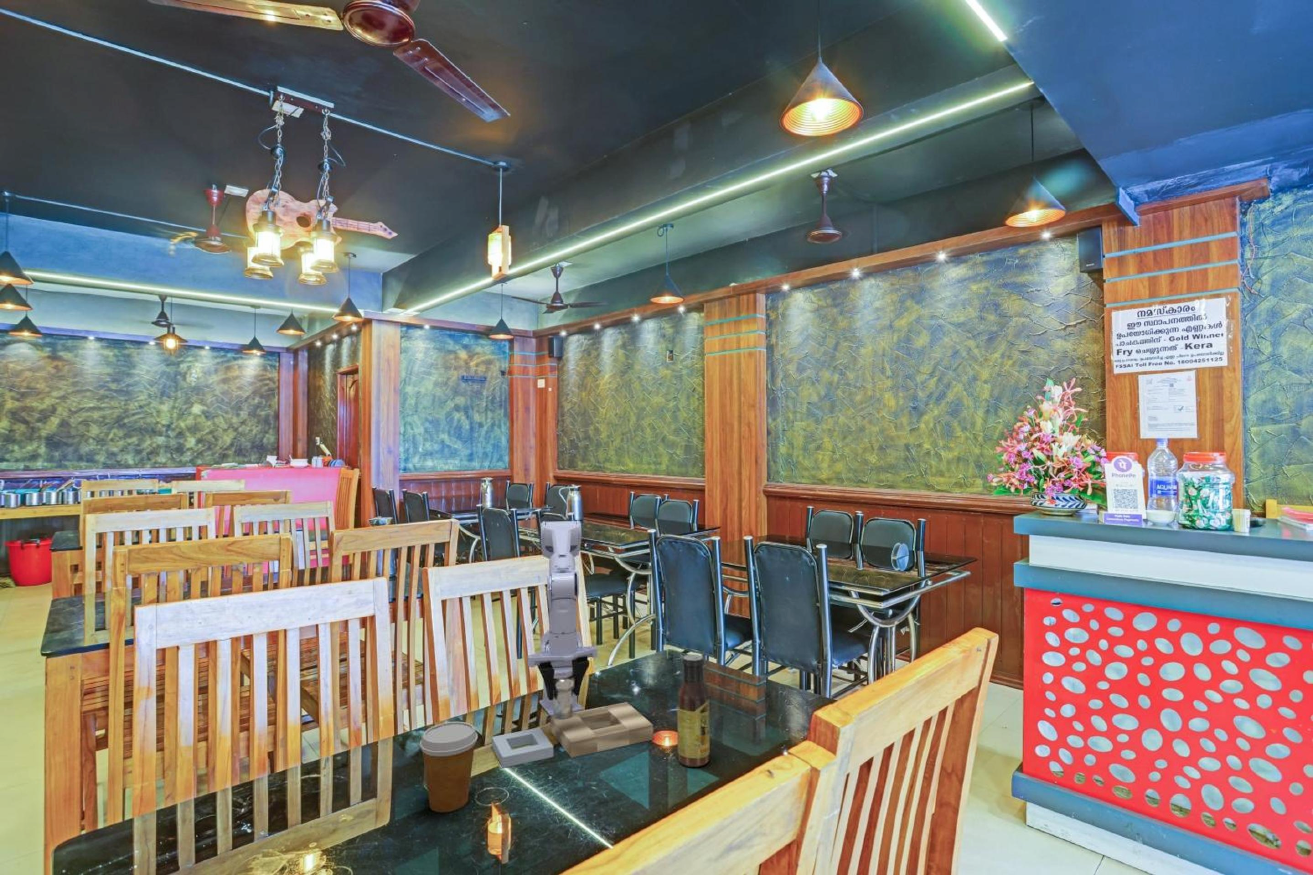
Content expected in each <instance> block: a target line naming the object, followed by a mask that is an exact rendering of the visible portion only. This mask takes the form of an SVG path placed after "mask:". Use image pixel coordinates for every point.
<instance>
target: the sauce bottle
mask: <svg viewBox="0 0 1313 875" xmlns="http://www.w3.org/2000/svg"><path fill="white" fill-rule="evenodd" d="M682 665H683V676H682V678H683V682H682V683H681V685H680V686H679V688H678V690H677V706H676V708H677V754H678V755H677V757H678V761H679V763H681V764H682V765H683V766H686V767H693V768H697V767H701V766H705V765H707V763H708V762H709V761H710V752H711V750H710V743H711V742H710V739H711V738H710V696H709V694H708V691H707V688H706V685H705V683H704V677H703V666H704V657H703V656H701V655H699V654H687V655H684V656H683V657H682Z"/></svg>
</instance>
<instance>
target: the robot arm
mask: <svg viewBox="0 0 1313 875" xmlns="http://www.w3.org/2000/svg"><path fill="white" fill-rule="evenodd" d="M581 543H582V524H581V521H580V520H570V521H569V520H567V521H566V520H565V521H564V520H563V521H561V520H560V521H546V520H544V521H542V522H541V523H540V545H541V553H542V557H545V558H546V559H548V560H549V562H548V575H547V576H546V577H547V578H546V581H547V582H546V583H547V584H546V585H547V586H546V593H547V594H546V597H547V602H548V619H549V620H548V625H549V626H548V630H547V631H546V632H545V633H543V634H542V636H541V642H540V643H541V644H540V652H537V653H534V654H529V655H527V666H528V667H529V668H535V667H536V666H537V668H538V671H539V673H540V675H541V678H542V685H543V689H542V690H543V691H542V692H543V697H542V698H543V699H540V700H539V704H540V705H541V706H542V708H543V709H544V710H545V711H546V713H547V715H549V716H550V717H552V716H553V697H554V692H553V679H554V674H557V673H572V674H574V675H575V687H574V688H573V712H578V711H583V710H584V707H583V706H582V705H581V704H580V703H578V696H580V693H581V692H580V691H581V686H582V682H583V680H584V677H585V675H586V673H587V670H588V669H589V667H590V660H588V658H593V659H595V658H598V648H597V647H596V646H595V645H591V646H589V645H588V646H583V642H582V641H583V640H582V638H583V637H582V636H583V635H582V634H581V633H580V631H578V628H577V627H578V625H577V624H578V622H577V621H578V614H577V613H578V609H577V608H578V607H577V606H578V603H577V602H578V599H579V595H580V579H579V577H580V576H579V573H578V570H577V569H576V559H575V558H576V557H577V556H579V555H580V551H581Z"/></svg>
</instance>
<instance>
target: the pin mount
mask: <svg viewBox="0 0 1313 875" xmlns="http://www.w3.org/2000/svg"><path fill="white" fill-rule="evenodd" d="M527 745H529V746H527ZM521 746H522V747H521ZM517 747H520V748H517ZM491 748H492V750H493V751H494V754H495V756H496V758H497V759H498V762H499V763H500V766H501V768H502V769H505V768H508V767H514V766H519V765H522V764H528V763H531V762H536V761H540V760H545V759H551V758H554V745H553V743H552V742H550V740H549V738H548V737H547V736H546V734H545V733H544V731H543V730H542V729H541V727H535V728H531V729H530V728H529V729H525V730H520V731H516V732H511V733H506V734H500V735H494V736H492V737H491ZM512 748H515V749H512Z"/></svg>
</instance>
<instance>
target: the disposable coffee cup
mask: <svg viewBox="0 0 1313 875" xmlns="http://www.w3.org/2000/svg"><path fill="white" fill-rule="evenodd" d="M478 737H479V736H478V733H477V732H476V727H475V726H474V725H473V724H471V723H469V722H465V721H448V722H443V723H439V724H436V725H433V726H430V728H427V729H426V730H425V731H424V732H423V735H422V737H421V739H420V742H419V747H420V749H421V751H422V757H423V763H424V769H425V771H424V772H425V779H426V785H427V786H426V787H427V795H428V804H429V808H430V810H432V811H434V812H436V813H449V812H453V811H457V810H459V809H461V808H463V807H464V806H465V805H467V803H468V801H469V793H470V787H471V786H470V785H471V777H472V768H473V761H474V754H475V744H476V743H477V740H478Z"/></svg>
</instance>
